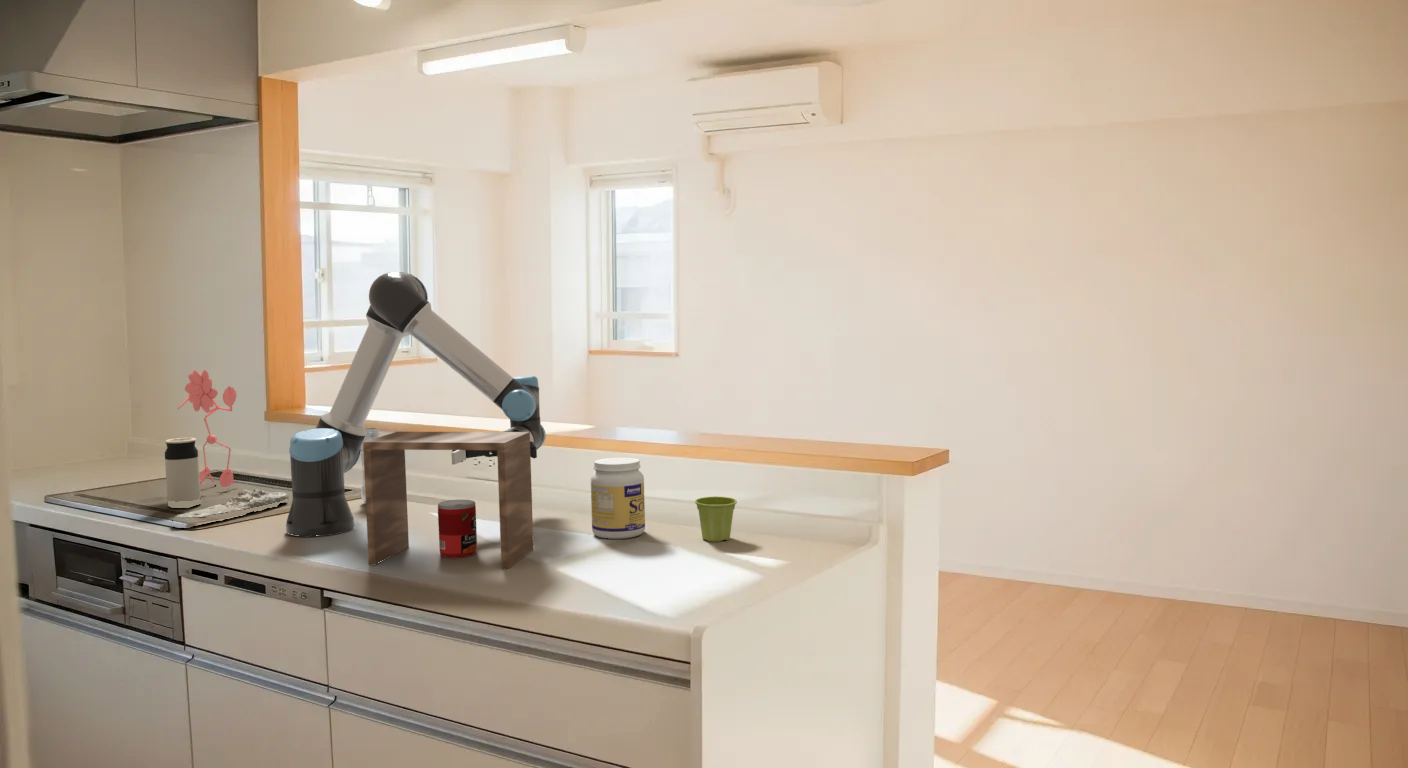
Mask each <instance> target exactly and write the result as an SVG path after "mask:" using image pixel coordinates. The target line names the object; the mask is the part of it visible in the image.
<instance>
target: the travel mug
mask: <svg viewBox="0 0 1408 768" xmlns="http://www.w3.org/2000/svg"><path fill="white" fill-rule="evenodd" d="M196 441H197V438H195V437H177V438H176V437H175V438H169V439H166V440H165V441H164V442H165V445H166V450H165V451H164V463H165V464H164V466H165V480H166V496H167V502H168V501H175V502H179V501H193V500H197V499H200V498H201V496H202V495H201V494H202V493H201V484H200V477H199V474H200V463H199V450H198V448H197V446H195V445H196ZM201 499H202V498H201Z"/></svg>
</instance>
